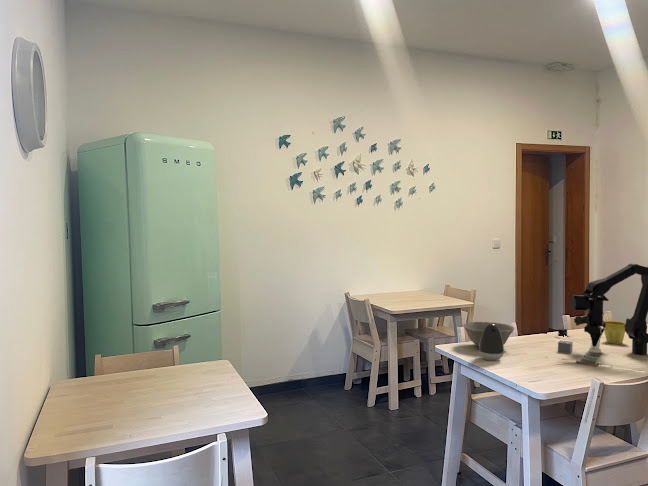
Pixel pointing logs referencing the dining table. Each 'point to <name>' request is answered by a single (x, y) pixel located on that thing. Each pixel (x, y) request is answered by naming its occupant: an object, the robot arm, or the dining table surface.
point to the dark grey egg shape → (491, 343)
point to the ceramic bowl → (476, 329)
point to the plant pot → (614, 331)
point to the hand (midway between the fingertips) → (595, 345)
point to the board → (591, 359)
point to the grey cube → (565, 346)
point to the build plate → (562, 332)
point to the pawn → (595, 348)
